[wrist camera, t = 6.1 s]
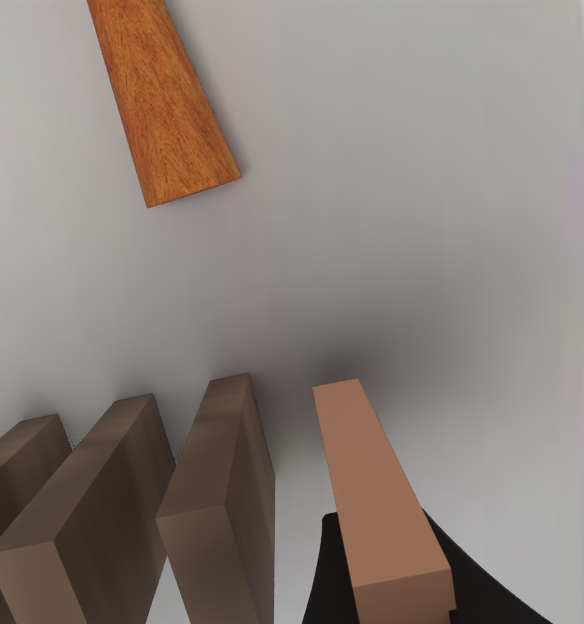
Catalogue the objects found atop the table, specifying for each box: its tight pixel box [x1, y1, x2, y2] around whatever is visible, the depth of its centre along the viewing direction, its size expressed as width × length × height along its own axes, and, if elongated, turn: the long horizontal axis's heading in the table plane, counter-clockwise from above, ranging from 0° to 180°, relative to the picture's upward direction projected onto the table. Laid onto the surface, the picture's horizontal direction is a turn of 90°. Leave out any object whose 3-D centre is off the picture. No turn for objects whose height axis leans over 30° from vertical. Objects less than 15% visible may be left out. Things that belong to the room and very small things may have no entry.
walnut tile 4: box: [155, 373, 275, 624], centre depth 14 cm, size 2×5×8 cm, turn 12°
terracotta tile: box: [312, 378, 456, 624], centre depth 11 cm, size 2×5×8 cm, turn 11°
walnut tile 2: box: [0, 414, 72, 624], centre depth 14 cm, size 2×5×8 cm, turn 12°
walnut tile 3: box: [0, 393, 176, 624], centre depth 14 cm, size 2×5×8 cm, turn 12°
